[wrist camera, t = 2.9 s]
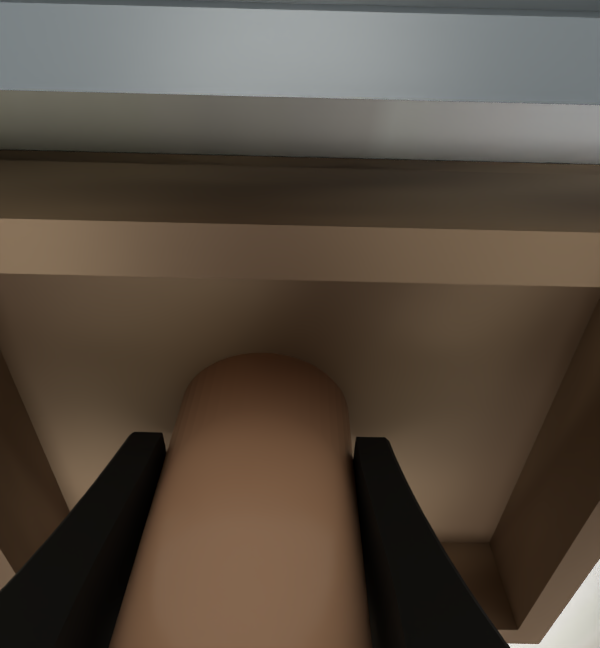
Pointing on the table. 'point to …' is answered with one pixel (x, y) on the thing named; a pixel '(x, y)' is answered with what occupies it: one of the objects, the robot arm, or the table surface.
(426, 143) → the table surface
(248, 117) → the table surface
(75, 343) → the bin
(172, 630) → the orange tan cylinder
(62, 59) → the bin
